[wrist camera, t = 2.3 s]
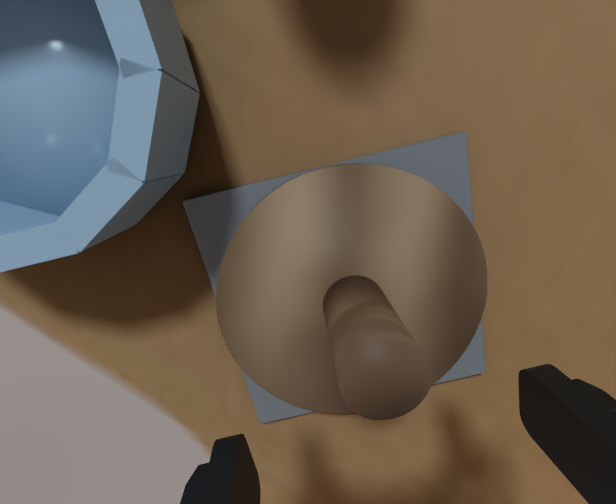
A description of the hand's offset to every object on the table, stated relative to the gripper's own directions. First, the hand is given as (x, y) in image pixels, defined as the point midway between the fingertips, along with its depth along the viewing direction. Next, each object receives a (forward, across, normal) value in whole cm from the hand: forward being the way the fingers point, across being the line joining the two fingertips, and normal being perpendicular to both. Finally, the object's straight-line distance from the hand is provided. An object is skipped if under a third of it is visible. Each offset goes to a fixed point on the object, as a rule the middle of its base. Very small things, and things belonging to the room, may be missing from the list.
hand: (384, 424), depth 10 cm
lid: (+9, -1, 0) cm, 9 cm away
